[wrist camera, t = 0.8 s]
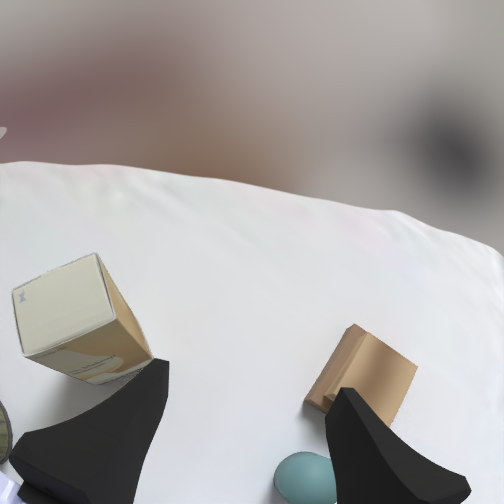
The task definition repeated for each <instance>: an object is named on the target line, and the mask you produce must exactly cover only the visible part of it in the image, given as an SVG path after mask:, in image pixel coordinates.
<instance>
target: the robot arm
mask: <svg viewBox="0 0 504 504" xmlns="http://www.w3.org/2000/svg"><path fill="white" fill-rule="evenodd" d="M168 386H169V361H165V360H161V359H157V358H154V359H153V360H152V361H151V362H150V363H149V364H148V365H147V366H146V367H145V368H144V369H143V370H142V371H141V372H140V373H139V374H137V375H136V376H135V377H134V378H133V379H132V380H131V381H130V382H128V383H127V384H126V385H125V386H124V387H122V388H121V389H120V390H119V391H117V392H116V393H115V394H113V395H112V396H111V397H109V398H108V399H106V400H105V401H103V402H102V403H100V404H99V405H97V406H95V407H94V408H92V409H90V410H88V411H86V412H84V413H82V414H81V415H79V416H76V417H74V418H72V419H70V420H67V421H64V422H62V423H59V424H56V425H54V426H51V427H47V428H44V429H39V430H35V431H31V432H26V433H24V434H23V435H22V437H21V438H20V439H19V440H18V442H17V443H16V445H15V446H14V448H13V449H12V451H11V452H10V454H9V456H8V458H9V462H10V463H11V465H12V466H13V468H14V469H15V470H16V472H17V473H18V474H19V475H20V477H21V478H22V479H23V480H24V482H23V484H22V485H21V486H20V485H19V484H18V483H17V482H16V481H14V480H13V479H11V478H10V477H8V476H7V475H5V474H4V473H3V472H1V471H0V504H133V502H134V497H135V493H136V489H137V485H138V481H139V477H140V473H141V470H142V466H143V462H144V460H145V457H146V454H147V452H148V449H149V447H150V444H151V442H152V440H153V437H154V435H155V432H156V430H157V428H158V425H159V423H160V421H161V418H162V416H163V412H164V409H165V405H166V402H167V398H168ZM325 424H326V438H327V443H328V448H329V452H330V457H331V462H332V466H333V471H334V476H335V482H336V494H337V504H460V503H462V502H463V501H464V500H465V499H466V498H467V497H468V496H469V495H470V493H471V491H472V490H471V488H470V486H469V484H468V482H467V480H466V477H465V476H462V475H459V474H457V473H454V472H452V471H449V470H447V469H445V468H443V467H441V466H439V465H437V464H435V463H433V462H432V461H430V460H428V459H427V458H425V457H424V456H422V455H421V454H419V453H418V452H416V451H415V450H414V449H412V448H411V447H410V446H408V445H407V444H406V443H405V442H404V441H402V440H401V439H400V438H399V437H398V436H397V435H396V434H395V433H394V432H393V431H392V430H391V429H390V428H389V427H388V426H387V425H386V424H385V423H384V422H383V421H382V420H381V419H380V418H379V417H378V416H377V414H376V413H375V412H374V411H373V410H372V409H371V407H370V406H369V405H368V404H367V403H366V402H365V400H364V399H363V398H362V397H361V396H360V394H359V393H358V392H357V391H356V390H355V389H354V388H349V387H341V388H340V390H339V392H338V394H337V396H336V398H335V400H334V402H333V404H332V406H331V407H330V409H329V411H328V413H327V415H326V417H325Z"/></svg>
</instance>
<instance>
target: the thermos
mask: <svg viewBox="0 0 504 504" xmlns="http://www.w3.org/2000/svg"><path fill="white" fill-rule="evenodd" d="M12 438H13V435H12V429H11V424H10V420H9V418H8V415H7V412H6V409H5V408H4V406H3V404H2V403H1V401H0V464H1V463H4V462H5V461H6V460H7V459H8V456H9V454H10V452H11V449H12Z"/></svg>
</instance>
